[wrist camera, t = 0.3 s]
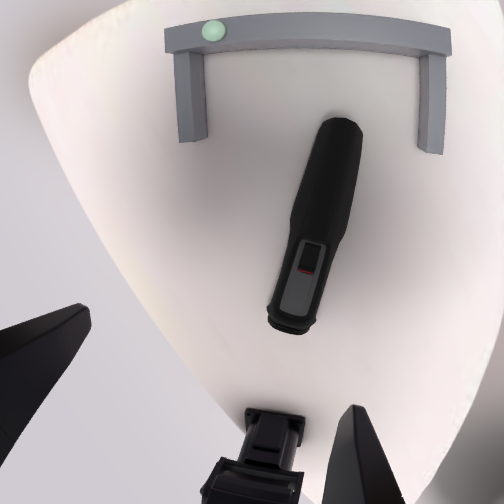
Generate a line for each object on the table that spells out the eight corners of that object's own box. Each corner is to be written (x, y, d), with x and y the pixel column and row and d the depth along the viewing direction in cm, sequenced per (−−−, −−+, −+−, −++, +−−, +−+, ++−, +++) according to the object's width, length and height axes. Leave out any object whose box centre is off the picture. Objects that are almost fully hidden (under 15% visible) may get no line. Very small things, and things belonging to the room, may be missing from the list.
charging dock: (432, 148, 16) (450, 160, 13) (193, 137, 20) (168, 146, 17) (434, 37, 13) (452, 27, 10) (187, 35, 16) (160, 27, 13)
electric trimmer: (376, 125, 17) (383, 129, 14) (312, 325, 25) (307, 353, 22) (315, 108, 17) (311, 109, 15) (266, 312, 25) (256, 338, 22)
